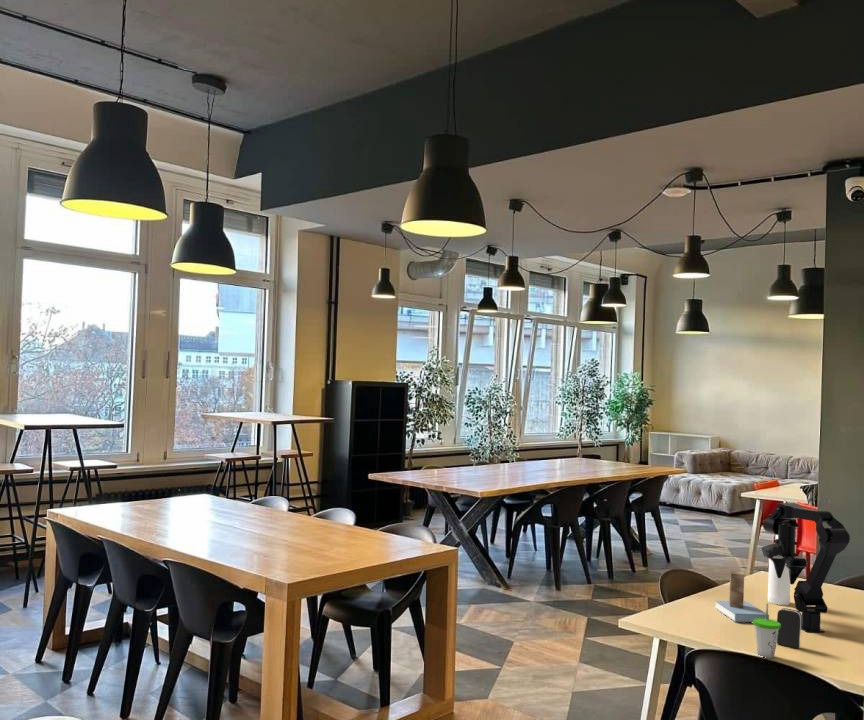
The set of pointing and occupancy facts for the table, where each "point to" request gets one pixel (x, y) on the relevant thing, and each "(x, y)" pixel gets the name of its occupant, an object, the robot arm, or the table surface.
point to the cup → (766, 635)
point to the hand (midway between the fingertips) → (785, 581)
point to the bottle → (778, 585)
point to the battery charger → (789, 627)
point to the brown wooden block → (736, 589)
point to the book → (740, 611)
